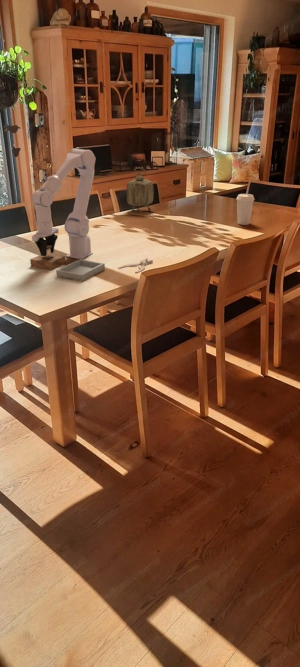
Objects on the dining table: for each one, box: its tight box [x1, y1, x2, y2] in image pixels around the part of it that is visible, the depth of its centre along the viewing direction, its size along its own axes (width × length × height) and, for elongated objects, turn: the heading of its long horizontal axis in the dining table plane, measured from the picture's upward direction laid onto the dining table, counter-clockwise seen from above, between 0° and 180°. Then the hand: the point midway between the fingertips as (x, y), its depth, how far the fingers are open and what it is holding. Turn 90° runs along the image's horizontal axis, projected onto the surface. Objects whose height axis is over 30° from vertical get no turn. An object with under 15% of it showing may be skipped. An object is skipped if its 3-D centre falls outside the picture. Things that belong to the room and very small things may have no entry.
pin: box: [44, 243, 52, 260], centre depth 205 cm, size 4×4×8 cm
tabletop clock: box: [125, 166, 155, 213], centre depth 293 cm, size 14×9×25 cm, turn 66°
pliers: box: [117, 257, 154, 274], centre depth 206 cm, size 10×2×15 cm
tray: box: [55, 258, 106, 282], centre depth 198 cm, size 16×12×2 cm
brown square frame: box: [30, 253, 66, 271], centre depth 207 cm, size 10×10×3 cm
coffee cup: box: [236, 193, 255, 226], centre depth 269 cm, size 10×10×15 cm
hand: (47, 254), depth 205 cm, fingers closed on pin, 4 cm apart
